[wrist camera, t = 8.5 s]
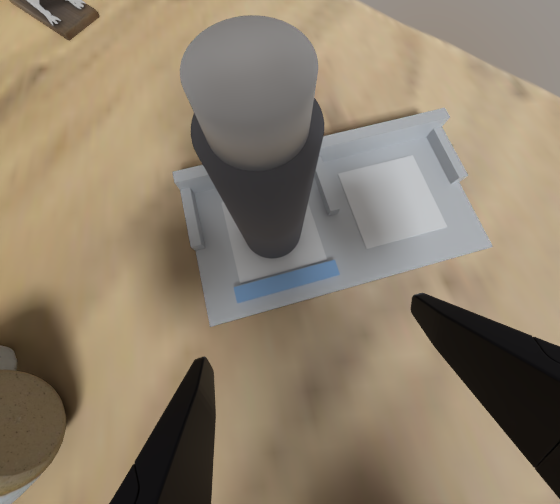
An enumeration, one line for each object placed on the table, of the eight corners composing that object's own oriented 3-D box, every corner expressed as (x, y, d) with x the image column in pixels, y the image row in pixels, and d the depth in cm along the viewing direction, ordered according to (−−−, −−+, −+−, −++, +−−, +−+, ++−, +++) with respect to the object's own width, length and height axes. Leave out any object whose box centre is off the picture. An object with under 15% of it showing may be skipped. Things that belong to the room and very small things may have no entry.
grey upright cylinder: (310, 219, 19) (365, 36, 6) (284, 268, 18) (285, 170, 5) (261, 195, 19) (220, -17, 7) (233, 241, 18) (125, 95, 6)
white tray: (426, 130, 22) (444, 107, 19) (487, 248, 19) (517, 239, 17) (185, 188, 20) (172, 171, 18) (212, 326, 17) (201, 328, 15)
